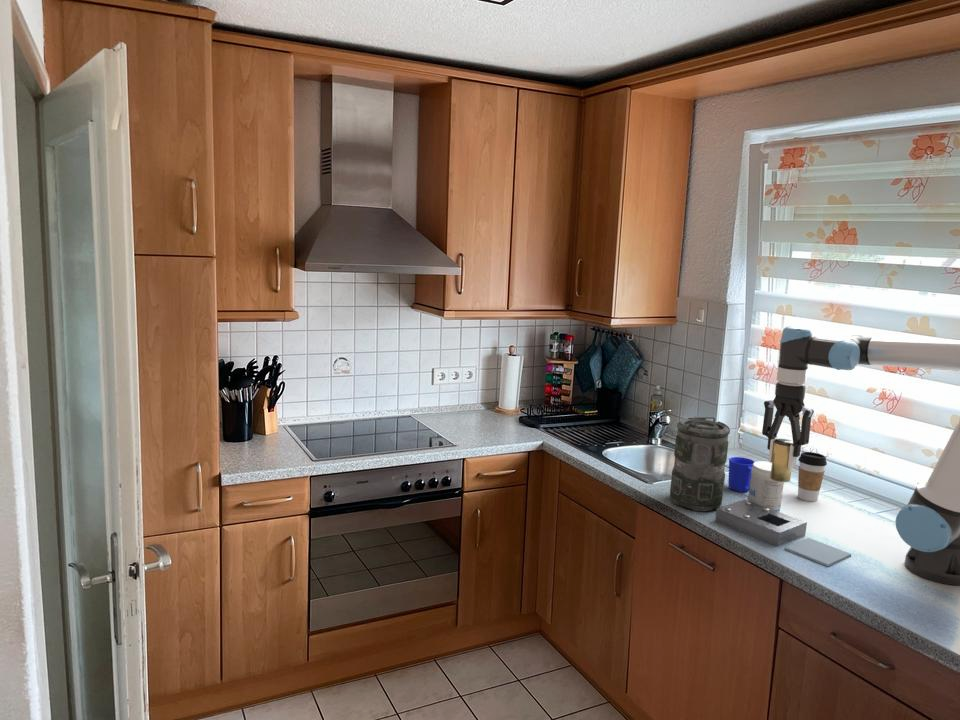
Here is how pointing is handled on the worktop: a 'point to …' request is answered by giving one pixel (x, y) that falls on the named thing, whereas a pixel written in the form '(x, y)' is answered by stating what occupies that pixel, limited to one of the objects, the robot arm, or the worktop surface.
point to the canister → (699, 463)
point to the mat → (818, 552)
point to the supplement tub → (765, 487)
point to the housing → (761, 522)
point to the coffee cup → (810, 475)
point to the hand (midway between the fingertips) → (781, 464)
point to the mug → (740, 473)
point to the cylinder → (781, 461)
